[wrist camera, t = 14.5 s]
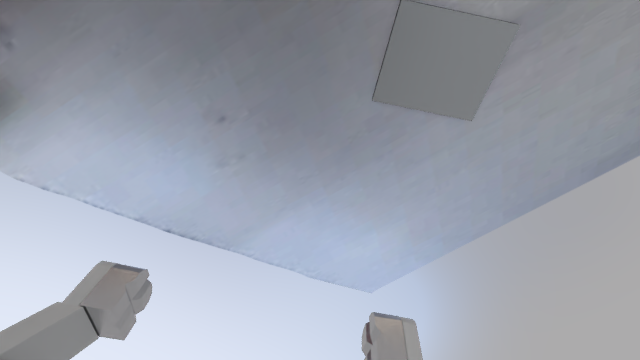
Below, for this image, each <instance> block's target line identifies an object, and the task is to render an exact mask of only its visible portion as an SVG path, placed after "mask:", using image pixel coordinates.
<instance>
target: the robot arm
mask: <svg viewBox="0 0 640 360" xmlns="http://www.w3.org/2000/svg"><path fill="white" fill-rule="evenodd" d="M148 276H149V273H148V270H147V269H142V268H137V267H131V266H126V265H121V264H118V263H112V262H106V261H101V262H100V263H98V264H97V265H96V266H95V267H94V268H93V269H92V270H91V271H90V272H89V273H88V274H87V276H86V277H85V278H84V279H83V280H82V281H81V282H80V283H79V284H78V285H77V287H76V288H75V289H74V290H73V291H72V292H71V293H70V294H69V296H68V297H67V298H66V299H65V300H64V301H63V302H62V303H61V302H57V303H55V304H53V305H51V306H49V307H47V308H45V309H43V310H42V311H39V312H37V313H36V314H34V315H32V316H30V317H28V318H26V319H24V320H22V321H20V322H18V323H16V324H14V325H12V326H10V327H9V328H7V329H5V330H3V331H1V332H0V360H69V359H71V358H72V357H74V356H75V355H76V354H78V353H79V352H80V351H82V350H83V349H84V348H86V347H87V346H88V345H90V344H91V343H93V342H94V341H95V340H97V339H98V336H99V337H106V338H112V339H119V340H125V338H126V337H127V335H128V333H129V332H130V330H131V329H132V327H133V325H134V324H135V322H136V314H137V313H139V312H140V311H142V310H143V309H144V308H145V306H146V305H147V303H148V302H149V299H150V296H151V294H152V284H151V282H150V281H148V280H147V278H148ZM369 320H370V322H368V323H366V325H365V327H364V330H363V335H362V351H363V352H364V354H365V356H366V358H365V359H364V360H423V359H422V353H421V348H420V342H419V337H418V332H417V326H416V323H415V321H414V320H413V319H408V318H403V317H398V316H393V315H386V314H381V313H375V312H373V313H371V315H370V317H369Z"/></svg>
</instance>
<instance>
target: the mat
mask: <svg viewBox="0 0 640 360" xmlns="http://www.w3.org/2000/svg"><path fill="white" fill-rule="evenodd" d="M520 26H521V25H518V24H514V23H509V22H505V21H500V20H495V19H491V18H486V17H482V16H477V15H472V14H468V13H463V12H458V11H454V10H449V9H445V8H440V7H435V6H431V5H426V4H422V3H417V2H412V1H408V0H401V1H400V5H399V8H398V12H397V15H396V19H395V22H394V26H393V29H392V33H391V36H390V39H389V43H388V46H387V50H386V53H385V57H384V60H383V64H382V67H381V71H380V74H379V78H378V81H377V85H376V88H375V92H374V95H373V99H372V101H376V102H381V103H386V104H391V105H396V106H401V107H405V108H410V109H415V110H420V111H425V112H430V113H434V114H439V115H444V116H449V117H454V118H459V119H463V120H468V121H472V120H473V118H474V116H475V114H476V112H477V110H478V108H479V106H480V104H481V102H482V100H483V98H484V96H485V94H486V92H487V90H488V88H489V86H490V84H491V82H492V80H493V78H494V76H495V75H496V73H497V71H498V69H499V67H500V65H501V63H502V61H503V59H504V57H505V55H506V53H507V51H508V49H509V47H510V45H511V43H512V41H513V39H514V37H515V35H516V33H517V31H518V30H519V28H520Z"/></svg>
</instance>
